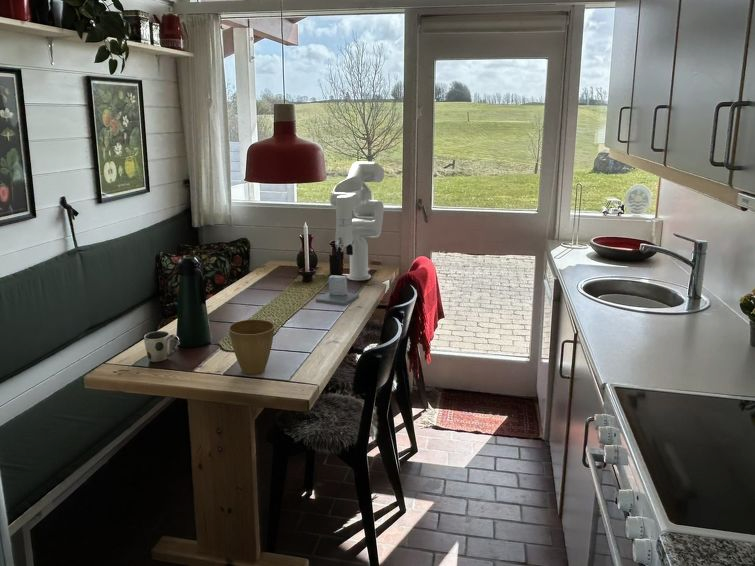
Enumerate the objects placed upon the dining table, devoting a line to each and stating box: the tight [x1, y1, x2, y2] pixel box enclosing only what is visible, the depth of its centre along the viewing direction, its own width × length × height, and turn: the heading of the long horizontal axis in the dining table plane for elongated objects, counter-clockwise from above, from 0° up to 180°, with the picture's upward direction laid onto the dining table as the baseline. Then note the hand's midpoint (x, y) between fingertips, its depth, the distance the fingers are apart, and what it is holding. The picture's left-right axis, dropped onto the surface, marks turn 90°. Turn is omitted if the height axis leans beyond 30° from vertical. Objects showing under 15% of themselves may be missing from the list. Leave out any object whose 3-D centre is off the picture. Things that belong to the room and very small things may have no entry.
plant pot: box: [228, 319, 275, 376], centre depth 209 cm, size 15×15×16 cm
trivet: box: [315, 291, 360, 306], centre depth 293 cm, size 15×15×1 cm
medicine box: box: [328, 274, 348, 296], centre depth 295 cm, size 8×4×9 cm, turn 79°
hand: (345, 257), depth 299 cm, fingers open, 9 cm apart
